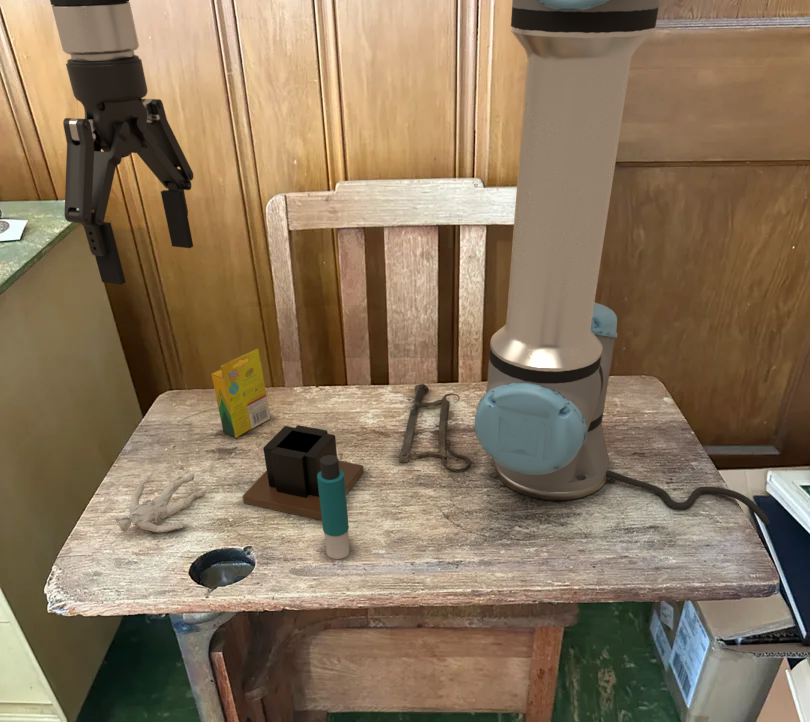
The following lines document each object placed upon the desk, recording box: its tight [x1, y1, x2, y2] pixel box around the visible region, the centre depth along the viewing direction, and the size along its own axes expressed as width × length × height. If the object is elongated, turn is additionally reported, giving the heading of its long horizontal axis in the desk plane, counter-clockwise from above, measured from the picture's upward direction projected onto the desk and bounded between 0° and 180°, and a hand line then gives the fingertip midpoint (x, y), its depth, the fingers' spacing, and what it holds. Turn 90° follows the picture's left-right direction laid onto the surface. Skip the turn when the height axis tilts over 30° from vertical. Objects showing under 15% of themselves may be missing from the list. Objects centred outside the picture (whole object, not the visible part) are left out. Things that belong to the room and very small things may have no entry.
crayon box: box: [210, 348, 271, 439], centre depth 112 cm, size 7×3×12 cm, turn 141°
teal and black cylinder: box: [317, 455, 351, 560], centre depth 87 cm, size 3×3×13 cm
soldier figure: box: [114, 472, 206, 535], centre depth 96 cm, size 8×5×12 cm
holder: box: [242, 424, 365, 521], centre depth 100 cm, size 12×12×7 cm
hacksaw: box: [398, 383, 472, 473], centre depth 113 cm, size 24×10×2 cm, turn 173°
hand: (150, 263), depth 91 cm, fingers open, 13 cm apart
